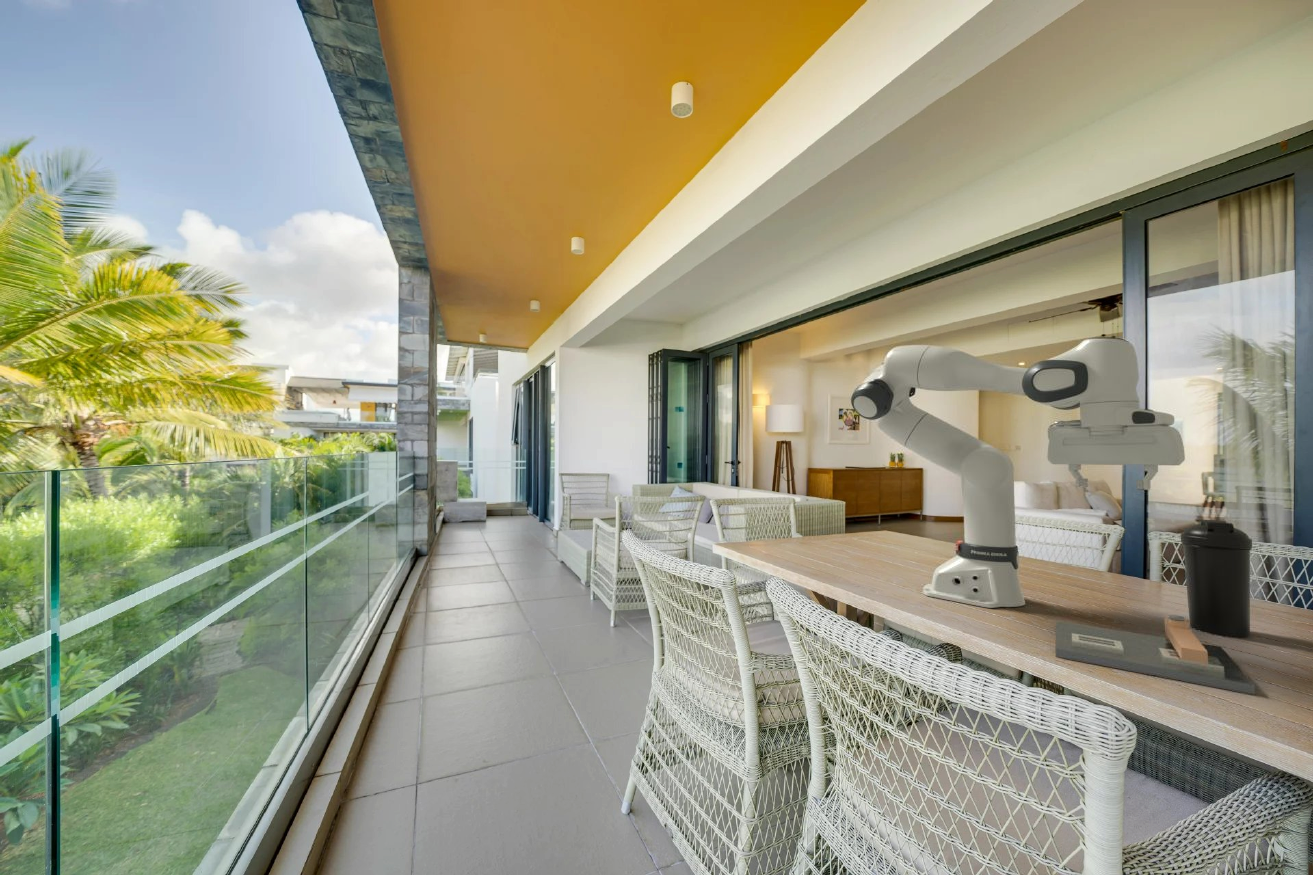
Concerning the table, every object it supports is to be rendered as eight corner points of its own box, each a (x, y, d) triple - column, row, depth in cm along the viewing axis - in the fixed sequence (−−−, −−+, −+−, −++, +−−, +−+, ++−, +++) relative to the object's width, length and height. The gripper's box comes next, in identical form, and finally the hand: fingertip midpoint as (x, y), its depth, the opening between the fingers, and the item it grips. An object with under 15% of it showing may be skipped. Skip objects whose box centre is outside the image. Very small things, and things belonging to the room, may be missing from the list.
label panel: (1055, 656, 92) (1055, 642, 92) (1055, 627, 108) (1055, 615, 108) (1254, 694, 78) (1253, 677, 78) (1221, 654, 93) (1220, 640, 93)
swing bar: (1164, 637, 97) (1163, 612, 97) (1188, 641, 95) (1187, 615, 95) (1181, 666, 84) (1179, 636, 84) (1209, 671, 82) (1207, 641, 82)
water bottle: (1245, 628, 108) (1240, 520, 108) (1265, 643, 99) (1260, 525, 100) (1178, 619, 113) (1173, 516, 114) (1192, 632, 105) (1187, 521, 106)
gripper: (1040, 420, 107) (1042, 486, 107) (1174, 413, 90) (1178, 491, 89) (1054, 422, 111) (1055, 485, 110) (1186, 415, 93) (1189, 490, 92)
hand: (1111, 488), depth 99 cm, fingers open, 8 cm apart
